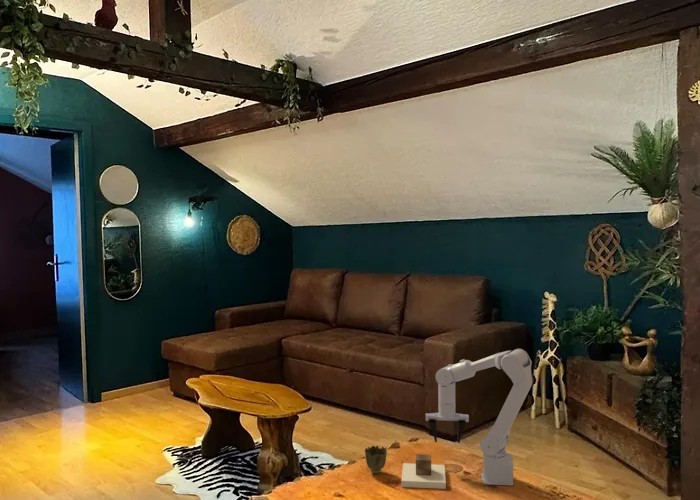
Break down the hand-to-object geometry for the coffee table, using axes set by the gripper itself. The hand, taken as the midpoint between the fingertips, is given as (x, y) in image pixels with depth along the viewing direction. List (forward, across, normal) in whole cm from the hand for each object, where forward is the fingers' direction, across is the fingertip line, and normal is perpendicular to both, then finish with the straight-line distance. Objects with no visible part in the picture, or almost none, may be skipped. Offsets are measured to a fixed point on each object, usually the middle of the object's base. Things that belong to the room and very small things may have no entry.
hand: (447, 441), depth 207 cm
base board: (+9, +8, +9) cm, 15 cm away
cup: (+10, +24, +6) cm, 27 cm away
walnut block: (+7, +8, +9) cm, 14 cm away
